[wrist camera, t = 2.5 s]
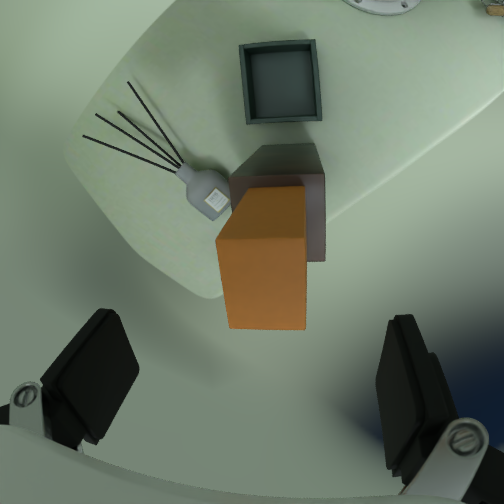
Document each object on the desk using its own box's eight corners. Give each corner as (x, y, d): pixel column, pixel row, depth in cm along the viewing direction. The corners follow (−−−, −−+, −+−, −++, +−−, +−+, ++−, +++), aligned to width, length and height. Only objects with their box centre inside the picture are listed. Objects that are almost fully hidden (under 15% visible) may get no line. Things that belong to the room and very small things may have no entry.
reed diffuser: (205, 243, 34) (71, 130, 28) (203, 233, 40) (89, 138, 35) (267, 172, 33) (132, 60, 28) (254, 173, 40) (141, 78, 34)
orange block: (304, 185, 19) (305, 237, 12) (306, 252, 21) (305, 330, 14) (248, 187, 19) (214, 239, 12) (254, 252, 21) (228, 329, 14)
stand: (314, 143, 33) (324, 173, 18) (316, 193, 36) (325, 261, 21) (261, 145, 34) (227, 177, 19) (265, 195, 37) (237, 262, 22)
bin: (313, 47, 28) (315, 39, 24) (319, 119, 32) (322, 120, 28) (246, 52, 30) (238, 44, 26) (253, 122, 33) (246, 124, 29)
